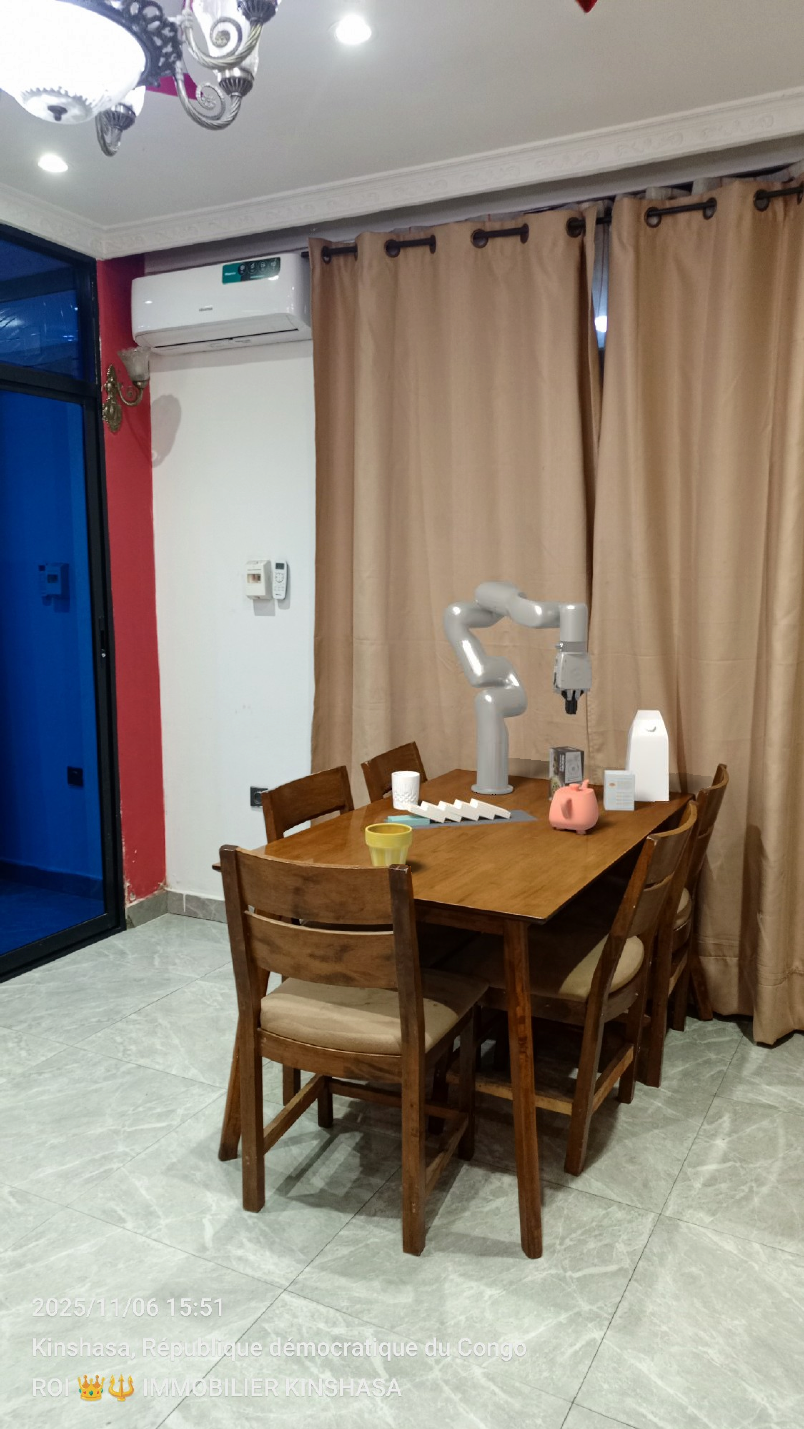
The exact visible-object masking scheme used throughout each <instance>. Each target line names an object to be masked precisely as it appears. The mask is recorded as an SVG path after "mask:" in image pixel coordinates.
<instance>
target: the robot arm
mask: <svg viewBox="0 0 804 1429" xmlns="http://www.w3.org/2000/svg"><path fill="white" fill-rule="evenodd" d="M473 596H474V597H473V598H474V600H463V601H461V600H460V601H456V602H454V603H453V602H452V603H450V604H449V605H447V607H446V608H445V610H444V611H443V616H442V629H443V633H444V636H445V638H446V640H447V642H448V643H449V645H450V646H451V648H452V649H453V651H454V653H455V656H456V658H457V660H458V663H459V665H460V667H461V670H462V671H463V674H464V676H465V678H466V680H467V682H468V683H469V685H470V686H471V687H472V688H477V689H482V690H480V691H479V692H478V693H477V695H476V696H475V698H474V701H473V702H474V704H473V705H474V706H473V707H474V712H475V718H476V719H475V720H476V731H477V733H476V735H477V736H476V739H477V740H476V741H477V743H476V744H477V745H476V746H477V747H476V783H475V784H472V785H471V791H472V792H474V793H476V792H477V793H478V794H481V795H492V794H493V795H494V796H495V794H496V795H505V794H510V793H512V792H513V790H514V786H512V785H511V784H509V753H510V752H509V748H510V745H509V743H510V740H509V739H510V738H509V729H508V726H507V723H506V722H505V720H504V719H505V718H506V719H507V718H514V717H519V716H521V715H523V714H524V713H525V712H526V711H527V708H528V703H529V702H528V701H529V700H528V696H527V692H526V690H525V688H524V686H523V683H522V682H521V679H520V677H519V675H518V673H517V671H516V669H515V667H514V665H513V663H512V662H511V661H510V660H509V659H508V658H506V657H504V656H501V655H492V656H491V655H488V654H487V652H486V651H485V649H484V647H483V643H482V642H481V641H480V639H479V638H478V637H477V636H476V635H475V634H474V633H472V632H471V630H470V629H487V628H490V627H493V626H494V625H496V624H497V623H498V622H499V621H501V620H502V619H503V618H504V617H508V618H509V619H510V620H511V621H512V622H513V623H515V624H517V625H520V626H524V627H528V628H530V629H535V630H543V629H545V630H546V629H547V630H548V629H558V630H559V632H558V634H559V635H558V636H559V637H558V643H555V644H554V649H555V650H557V652H556V655H555V658H554V663H553V664H554V666H553V674H552V686H553V689H552V693H554V694H559V695H560V696H561V697H563V699H564V711H565V714H567V715H571V716H572V715H573V716H574V715H577V711H578V701H579V700H580V698H581V697H582V696H583V694H587V693H590V692H591V688H592V687H593V670H592V661H591V654H590V652H587V651H588V649H587V648H588V644H587V643H588V620H589V619H588V615H589V613H588V612H589V609H588V606H587V604H586V603H584V602H565V601H560V600H559V601H555V600H554V601H552V600H551V601H549V600H548V601H547V600H545V601H536V600H535V601H534V600H531V599H528V597H527V593H526V592H525V591H523V590H522V589H519V588H518V586H517V585H516V584H514V583H513V582H511V581H494V580H493V581H485V582H484V581H483V582H482V583H480V584H479V585H478V586H477V587H476V588H475V591H474V595H473ZM484 688H485V689H484Z"/></svg>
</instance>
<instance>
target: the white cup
mask: <svg viewBox="0 0 804 1429" xmlns="http://www.w3.org/2000/svg"><path fill="white" fill-rule="evenodd" d="M420 775H421V773H419V772H417V771H411V770H409V771H408V770H406V771H405V770H404V771H402V770H400V771H395V772H392V773H391V788H392V790H391V792H392V803H393V808H394V809H396V810H402V811H408V810H407V809H406V808H404V806H405V804H406V802H409V803H412V804H414V805H417V806H419V797H420V796H419V793H420V777H421V776H420Z"/></svg>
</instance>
